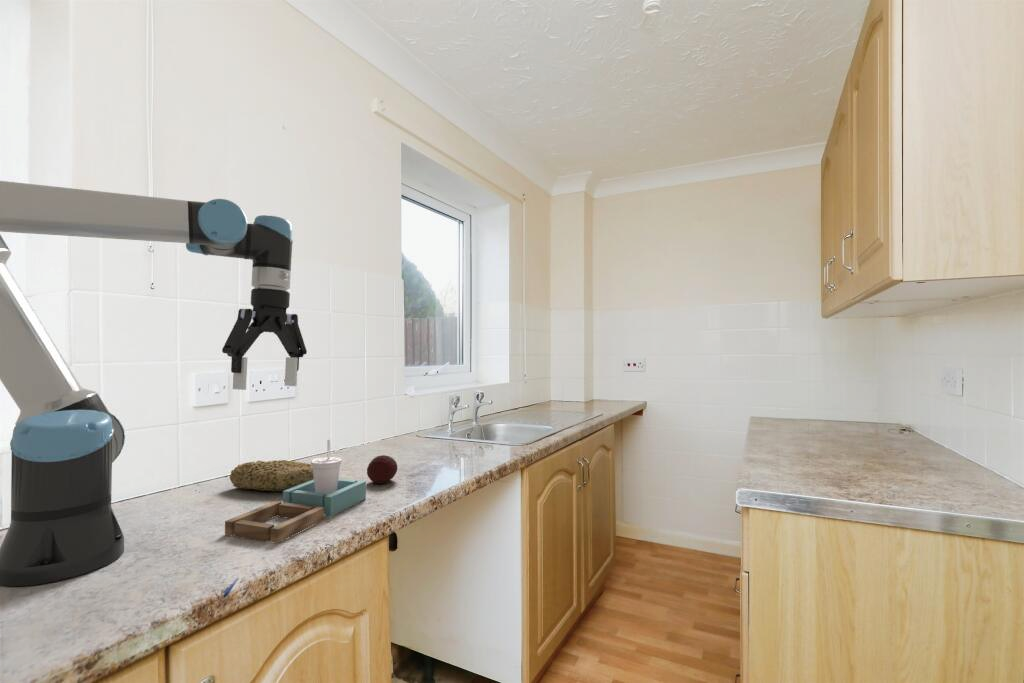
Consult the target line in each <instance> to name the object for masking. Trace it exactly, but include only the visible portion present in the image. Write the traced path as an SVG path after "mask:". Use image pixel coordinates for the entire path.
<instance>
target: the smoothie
mask: <svg viewBox="0 0 1024 683" xmlns="http://www.w3.org/2000/svg"><path fill="white" fill-rule="evenodd" d="M326 447H327V450H326V451H327V452H326V453H327V456H324V457H317V458H313V459H312V460H311V461H310V464H311V467H312V469H313V477H314V486H315V492H317V493H325V494H327V495H329V494H331V493H333V492H335V491H337V485H338V478H340V477H339V476H340V471H341V470H340V469H341V465H342V458H341V457H338V456H331V439H327V446H326Z"/></svg>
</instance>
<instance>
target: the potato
mask: <svg viewBox="0 0 1024 683" xmlns="http://www.w3.org/2000/svg"><path fill="white" fill-rule="evenodd" d="M397 473H398V464H397V461H396V460H395V459H394V458H393V457H391V456H389V455H385V454H383V455H378V456H375V457H374V458H373V459H372V460H371V461H370V462H369V464H368V466H367V467H366V474H367V477H368V478H369V480H370V481H371V482H373V483H374V484H377V485H381V484H385V483H388V482H389V481H391V480H392V479H393V478H394V477H396V474H397Z"/></svg>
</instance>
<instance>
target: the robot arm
mask: <svg viewBox="0 0 1024 683" xmlns="http://www.w3.org/2000/svg"><path fill="white" fill-rule="evenodd" d="M0 233H14V234H15V233H16V234H17V233H19V234H33V235H48V236H52V235H53V236H65V237H66V236H67V237H81V238H97V239H113V240H114V239H115V240H126V241H127V240H130V241H142V242H143V241H144V242H145V241H146V242H163V243H177V244H179V243H180V244H185V248H186V250H187V251H188V252H190V253H194V254H195V253H196V254H201V255H203V256H215V257H227V258H233V259H235V258H236V259H243V260H252V265H251V266H252V269H251V286H252V287H253V288H252V289H251V291H250V305H251V306H252V308H239V309H238V314H237V318H236V321H235V323H234V325H233V327H232V329H231V331H230V333H229V335H228V337H227V339H226V341H225V343H224V345H223V347H222V350H221V351H222V353H223V354H226V355H227V357H231V363H230V364H231V365H230V367H231V368H230V371H231V373H232V374H233V376H232V379H233V380H232V390H238V391H239V390H241V391H245V390H247V375H248V357H247V356H246V357H245V355H246V353H247V352H248V351H249V350H250V348H251V347H252V345H253V344H254V343H255V342H256V340H257V339H258V338H259V336H261V334H263V333H273V334H274V335H276V336H277V338H278V340H279V342H280V343H281V345H282V346H283V348H284V349H285V351H286V353H287V354H288V356H286V357H285V366H284V367H285V369H284V370H285V371H284V386H286V387H296V386H297V385H298V384H297V381H298V380H297V379H298V371H299V368H300V358H304V355H306V354H307V348H306V345H305V341H304V338H303V335H302V332H301V329H300V326H299V317H298V314H296V313H287V309H288V308H290V301H291V298H290V296H291V293H290V292H289V291H288V290H289V289H291V272H292V257H293V256H292V255H293V253H292V252H293V243H294V242H293V241H294V240H293V226H292V224H291V222H290V221H289V220H288V219H286V218H283V217H280V216H276V215H275V216H274V215H265V214H264V215H263V214H262V215H257V216H256V217H255V218H254V222H253V223H248V219H247V215H246V213H245V212H244V210H243V209H242V208H241V207H240V206H239V205H238V204H237V203H235V202H234V201H231V200H229V199H225V198H215V199H211V200H208V201H206V202H204V201H203V202H202V201H195V200H194V201H193V200H186V199H185V200H182V199H173V198H167V197H166V198H165V197H156V196H155V197H154V196H146V195H136V194H127V193H118V192H109V191H108V192H107V191H100V190H91V189H89V190H88V189H83V188H82V189H80V188H71V187H63V186H55V185H54V186H53V185H46V184H45V185H44V184H34V183H24V182H15V181H8V180H7V181H6V180H0ZM11 255H12V252H11V250H10V249H9V247H8V245H7V243H6V242H5V240H4V238H3V237H2V235H1V234H0V382H1V383H2V384H3V386H4V388H5V390H6V391H7V393H9V395H10V398H12V399H13V402H14V404H16V406H17V407H18V409H19V410H20V411H19V415H18V417H17V419H16V421H15V423H14V425H15V426H14V428H13V430H12V436H11V439H10V442H9V446H10V451H11V464H10V466H11V468H10V470H11V472H10V473H11V474H10V475H11V476H10V478H11V481H10V485H11V486H10V487H11V488H10V524H9V526H8V529H7V531H6V534H5V536H4V539H3V541H2V543H1V545H0V586H7V587H25V586H26V587H27V586H35V585H42V584H48V583H53V582H59V581H62V580H67V579H71V578H74V577H77V576H82V575H84V574H86V573H90V572H93V571H96V570H98V569H100V568H102V567H105V566H107V565H109V564H110V563H112V562H114V561H116V560H117V559H119V558H120V557H121V556H122V555H123V554H124V552H125V536H124V534H123V531H122V528H121V527H120V524H119V522H118V520H117V519H118V518H117V517H116V514H115V511H114V510H113V507H112V488H113V487H112V485H113V484H112V483H113V482H112V481H113V480H112V478H113V477H112V475H113V474H112V473H113V470H112V469H113V463H114V462H115V461H116V459H117V458H118V457H119V456H120V455H121V453H122V450H123V448H124V446H125V441H126V440H125V439H126V435H125V429H124V426H123V424H122V422H121V421H120V420H119V418H117V417H116V415H114V414H112V413H111V412H110V411H109V410H108V408H107V406H106V405H105V403H104V402H103V400H102V398H101V397H100V395H99V394H98V392H97V391H95V390H91V389H86V388H84V387H82V386H81V385H80V383H79V381H78V380H77V378H76V376H75V374H74V373H73V371H72V370H71V368H70V367H69V365H68V363H67V362H66V360H65V358H64V357H63V355H62V354H61V352H60V350H59V349H58V348H57V345H56V344H55V343H54V341H53V339H52V337H51V336H50V334H49V332H48V331H47V330H46V328H45V326H44V325H43V322H42V321H41V320H40V318H39V316H38V315H37V313H36V312H35V310H34V309H33V307H32V304H30V302H29V300H28V298H27V297H26V296H25V293H23V291H22V289H21V288H20V287H21V286H20V285H19V284H18V283H17V280H16V279H15V278H14V276H13V274H12V273H11V271H10V269H9V268H8V266H7V262H8V260H9V258H10V257H11Z"/></svg>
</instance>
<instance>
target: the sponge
mask: <svg viewBox="0 0 1024 683" xmlns="http://www.w3.org/2000/svg"><path fill="white" fill-rule="evenodd" d="M229 480H230V482H231V484H233V485H232V486H233V487H235V488H237V489H242V490H249V489H254V490H255V491H267V492H269V491H270V492H283V491H285V490H287V489H290V488H292V487H295V486H298V485H300V484H303V483H306V482H308V481H311V480H314V477H313V469H312V467H311V463H306V462H299V461H293V460H286V459H283V460H269V461H264V460H263V461H262V460H257V461H256V462H255V460H254V461H250V462H245V463H241V464H238V465H237V466H236V467H234V469H232V470H231V471H230V475H229Z"/></svg>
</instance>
